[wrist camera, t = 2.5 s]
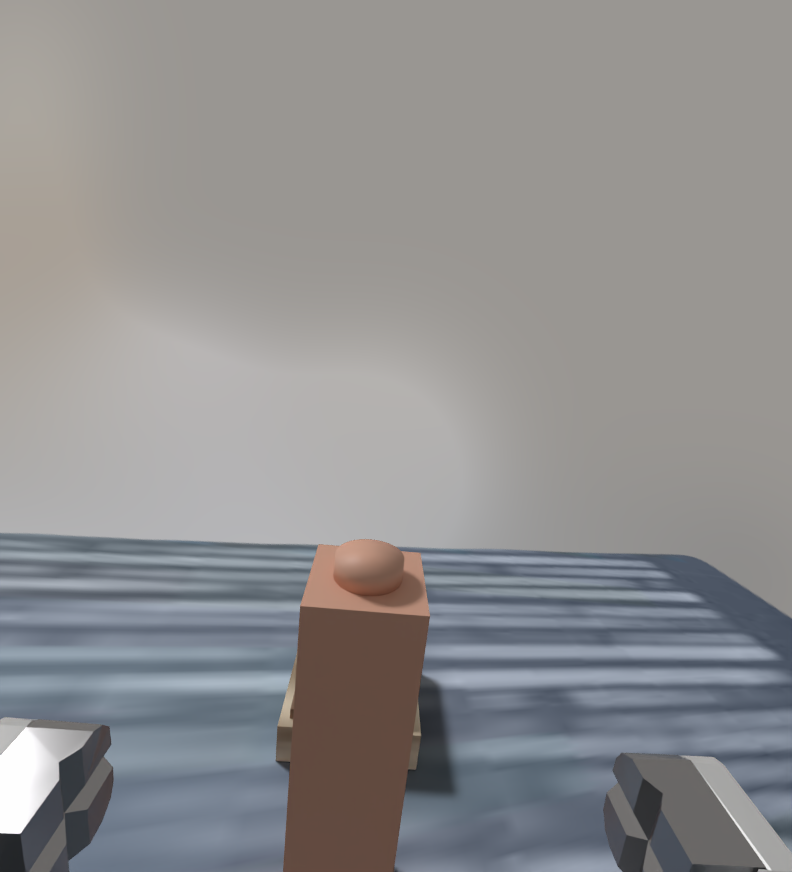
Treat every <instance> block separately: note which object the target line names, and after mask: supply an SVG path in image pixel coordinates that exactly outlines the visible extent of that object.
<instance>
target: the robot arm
mask: <svg viewBox="0 0 792 872" xmlns="http://www.w3.org/2000/svg"><path fill="white" fill-rule="evenodd" d="M110 745H111V736H110V728H109V727H108V726H105V725H99V724H87V723H75V722H63V721H52V720H40V719H38V720H34V719H21V718H8V717H4V718H3V719H1V720H0V872H69V860H70V859H72V858H73V857H74V856H75V855H76V854H78V853H79V852H80V851H81V850H83V849H84V848H85V847H86V846H88V845H89V844H90V843H91V841H92V839H93V837H94V835H95V833H96V832H97V830H98V828H99V826H100V824H101V822H102V820H103V817H104V815H105V812H106V809H107V806H108V804H109V801H110V798H111V793H112V787H113V780H114V779H113V767H112V766H111V764H110V763H109V762H108V761H107V760H106V759H105V758H104V757H103V756H104V755H105V753H106V752H107V750H108V749H109V747H110ZM613 773H614V775H615V777H616V779H617V781H618V783H617V784H616V785H615V786H614V787H613V788H612V789H610V790H609V791H608V792H607V794H606V799H605V804H604V809H603V811H604V822H605V831H606V835H607V838H608V842H609V846H610V849H611V851H612V854H613V856H614V858H615V861H616V863H617V866H618V867H619V868H620V869H621V870H622V871H623V872H792V853H791V852H790V850H789V849H788V848H787V846H786V845H785V844H784V843H783V841H782V840H781V839H780V837H779V836H778V835H777V833H776V832H775V831H774V830H773V828H772V827H771V826H770V824H769V823H768V822H767V820H766V819H765V818H764V817H763V815H762V814H761V813H760V811H759V810H758V809H757V807H756V806H755V805H754V804H753V802H752V801H751V800H750V798H749V797H748V796H747V795H746V793H745V792H744V791H743V789H742V788H741V787H740V785H739V784H738V783H737V782H736V780H735V779H734V778H733V776H732V775H731V774H730V772H729V771H728V770H727V769H726V767H725V766H724V765H723V764H722V763H721V762H719V761H718V760H717V759H715V758H714V757H700V756H679V755H665V754H640V753H621V754H620V755H619V756H618V757H617V758H616V760H615V764H614V767H613Z"/></svg>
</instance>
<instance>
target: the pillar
mask: <svg viewBox="0 0 792 872" xmlns="http://www.w3.org/2000/svg"><path fill="white" fill-rule="evenodd" d="M429 619H430V614H429V607H428V601H427V594H426V587H425V581H424V574H423V567H422V561H421V554H420V553H414V552H403V551H400V550H399V549H398V548H396V547H395V546H393V545H391V544H389V543H385V542H382V541H378V540H371V539H370V540H369V539H360V540H353V541H349V542H346V543H344V544H342V545H341V546H333V545H322V544H319V545H318V548H317V552H316V555H315V558H314V562H313V565H312V568H311V572H310V575H309V579H308V582H307V585H306V589H305V592H304V595H303V599H302V602H301V605H300V619H299V634H298V650H297V665H296V681H295V696H294V712H293V727H292V743H291V758H290V774H289V789H288V805H287V820H286V836H285V851H284V867H283V872H393V871H394V864H395V857H396V850H397V843H398V836H399V829H400V822H401V815H402V808H403V801H404V794H405V787H406V780H407V773H408V766H409V759H410V752H411V745H412V738H413V731H414V724H415V717H416V710H417V703H418V696H419V689H420V682H421V675H422V668H423V661H424V654H425V647H426V640H427V633H428V626H429Z"/></svg>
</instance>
